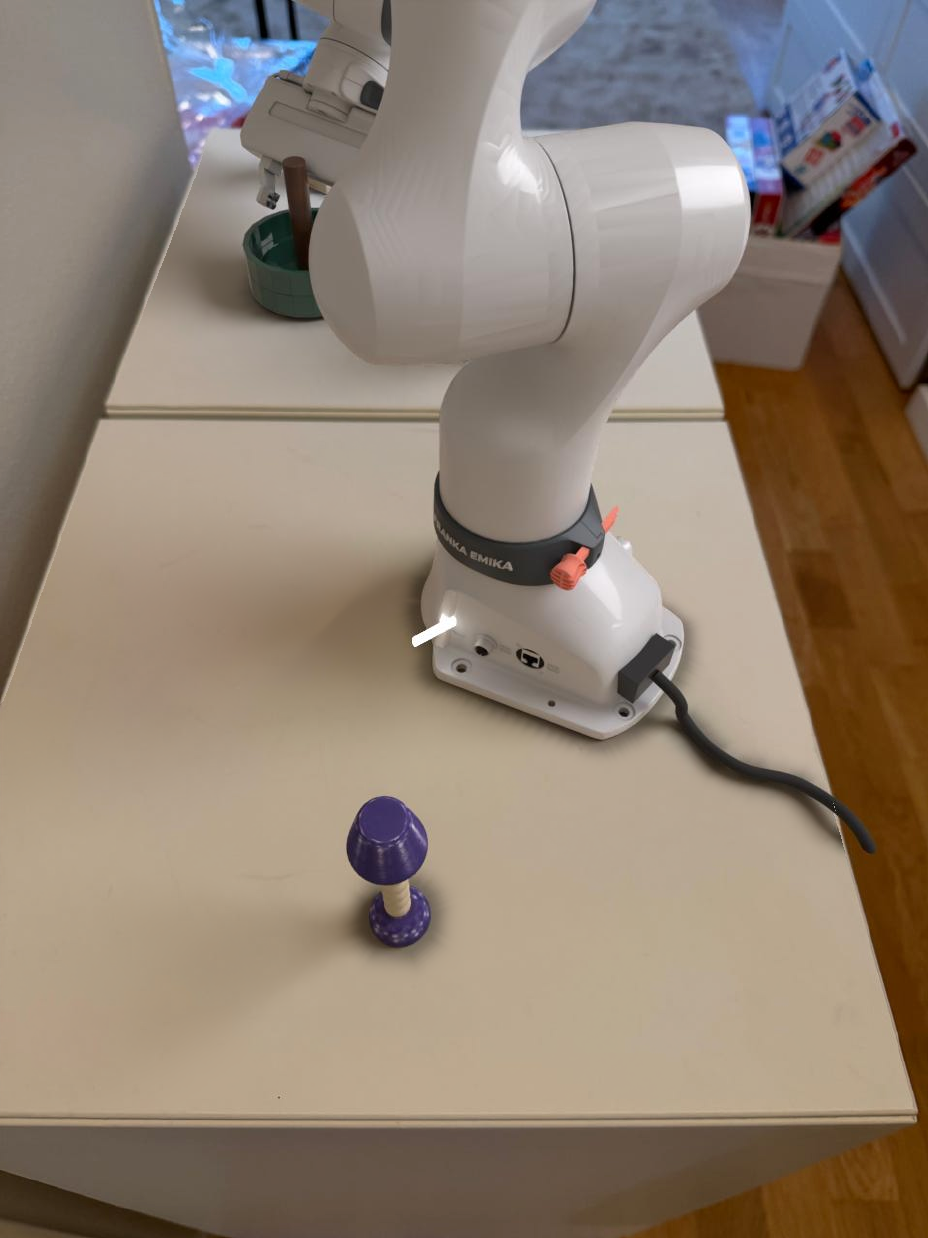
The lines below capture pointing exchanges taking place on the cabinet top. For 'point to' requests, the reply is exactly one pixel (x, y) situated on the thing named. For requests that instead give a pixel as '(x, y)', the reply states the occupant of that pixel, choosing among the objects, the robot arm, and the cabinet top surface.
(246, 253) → the bowl
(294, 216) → the stirring stick
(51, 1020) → the cabinet top surface
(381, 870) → the toy lamp
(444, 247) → the robot arm
